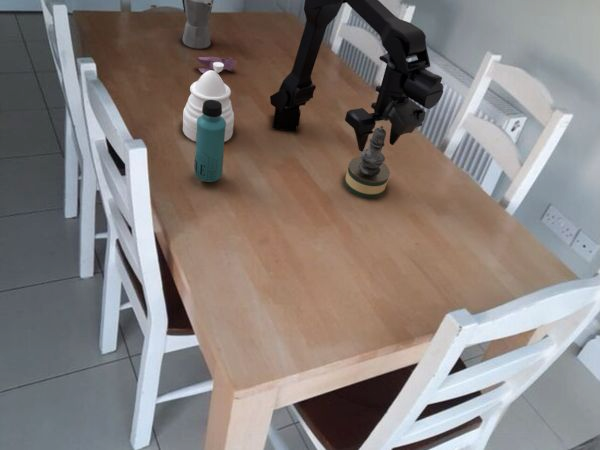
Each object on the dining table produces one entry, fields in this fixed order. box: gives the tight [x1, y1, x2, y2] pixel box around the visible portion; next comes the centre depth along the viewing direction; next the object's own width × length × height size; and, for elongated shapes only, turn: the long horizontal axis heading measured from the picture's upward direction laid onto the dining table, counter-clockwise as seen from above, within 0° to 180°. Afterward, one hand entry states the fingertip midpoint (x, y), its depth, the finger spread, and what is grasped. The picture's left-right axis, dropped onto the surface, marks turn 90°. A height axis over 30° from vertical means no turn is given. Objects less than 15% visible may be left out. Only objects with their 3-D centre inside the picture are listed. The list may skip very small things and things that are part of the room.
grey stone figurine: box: [359, 125, 387, 175], centre depth 131 cm, size 6×6×12 cm
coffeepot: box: [181, 0, 214, 50], centre depth 178 cm, size 15×9×18 cm, turn 44°
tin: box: [344, 156, 391, 199], centre depth 136 cm, size 10×10×5 cm
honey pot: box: [182, 62, 235, 143], centre depth 140 cm, size 13×13×18 cm
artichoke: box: [196, 56, 238, 74], centre depth 170 cm, size 5×4×12 cm
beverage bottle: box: [193, 100, 226, 183], centre depth 123 cm, size 6×7×20 cm
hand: (376, 147), depth 131 cm, fingers open, 9 cm apart
